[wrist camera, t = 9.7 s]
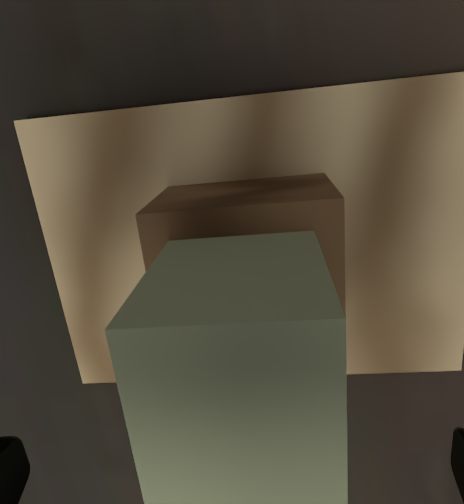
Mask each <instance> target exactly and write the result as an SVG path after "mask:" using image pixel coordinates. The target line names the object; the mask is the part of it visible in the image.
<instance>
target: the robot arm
mask: <svg viewBox="0 0 464 504" xmlns="http://www.w3.org/2000/svg"><path fill="white" fill-rule="evenodd" d="M451 467H452V471H453V474H454V477H455V480H456V483H457V486H458V489H459V491H460V494H461V497H462V500H463V503H464V427H457V428H455V430H454V433H453V441H452V451H451ZM29 473H30V464H29V460H28V458H27V455H26V452H25V449H24V446H23V443H22V441H21V439H20V438H19V437H17V436H3V437H0V504H18V503H19V500H20V498H21V495H22V493H23V490H24V488H25V485H26V483H27V480H28V477H29Z"/></svg>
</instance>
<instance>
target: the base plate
mask: <svg viewBox="0 0 464 504" xmlns="http://www.w3.org/2000/svg"><path fill="white" fill-rule="evenodd" d="M14 125H15V128H16V132H17V136H18V140H19V144H20V147H21V151H22V155H23V159H24V162H25V166H26V170H27V174H28V178H29V181H30V185H31V189H32V193H33V197H34V200H35V204H36V208H37V212H38V215H39V219H40V223H41V227H42V231H43V234H44V238H45V242H46V246H47V250H48V253H49V257H50V261H51V265H52V268H53V272H54V276H55V280H56V284H57V287H58V291H59V295H60V299H61V302H62V306H63V310H64V314H65V318H66V321H67V325H68V329H69V333H70V337H71V340H72V344H73V348H74V352H75V355H76V359H77V363H78V367H79V371H80V374H81V378H82V382H83V383H108V382H116V378H115V373H114V369H113V365H112V360H111V356H110V352H109V347H108V343H107V338H106V334H105V329H106V327H107V326H108V324H109V323H110V322H111V320H112V319H113V317H114V316H115V315H116V313H117V312H118V310H119V309H120V308H121V306H122V305H123V303H124V302H125V301H126V299H127V298H128V296H129V295H130V294H131V292H132V291H133V289H134V288H135V287H136V285H137V284H138V282H139V281H140V280H141V278H142V277H143V275H144V274H145V273H146V271H147V270H148V268H149V267H150V266H151V264H152V263H153V261H154V260H155V259H156V257H157V256H158V254H159V253H160V252H161V250H162V249H163V247H164V246H165V245H166V243H167V242H168V241H171V240H185V239H199V238H213V237H228V236H242V235H256V234H270V233H284V232H299V231H313V230H314V231H315V234H316V236H317V239H318V242H319V245H320V248H321V250H322V253H323V256H324V259H325V261H326V264H327V267H328V270H329V272H330V275H331V278H332V281H333V283H334V286H335V289H336V292H337V295H338V297H339V300H340V303H341V306H342V308H343V311H344V314H345V317H346V359H347V374H372V373H401V372H431V371H460V370H461V368H462V358H463V348H464V72H455V73H446V74H437V75H428V76H419V77H409V78H400V79H391V80H382V81H373V82H364V83H355V84H345V85H336V86H327V87H318V88H309V89H300V90H291V91H282V92H272V93H263V94H254V95H245V96H236V97H227V98H218V99H208V100H199V101H190V102H181V103H172V104H163V105H154V106H145V107H135V108H126V109H117V110H108V111H99V112H90V113H81V114H71V115H62V116H53V117H44V118H35V119H26V120H17V121H14Z"/></svg>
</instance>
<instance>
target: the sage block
mask: <svg viewBox="0 0 464 504" xmlns="http://www.w3.org/2000/svg"><path fill="white" fill-rule="evenodd" d="M105 334H106V338H107V343H108V347H109V352H110V356H111V360H112V365H113V369H114V373H115V378H116V382H117V386H118V391H119V395H120V399H121V404H122V408H123V413H124V417H125V421H126V426H127V430H128V434H129V439H130V443H131V447H132V452H133V456H134V460H135V465H136V469H137V474H138V478H139V482H140V487H141V491H142V495H143V500H144V504H348V482H347V359H346V317H345V314H344V311H343V308H342V306H341V303H340V300H339V297H338V295H337V292H336V289H335V286H334V283H333V281H332V278H331V275H330V272H329V270H328V267H327V264H326V261H325V259H324V256H323V253H322V250H321V248H320V245H319V242H318V239H317V236H316V234H315V231H314V230H313V231H299V232H284V233H270V234H256V235H242V236H228V237H213V238H199V239H185V240H171V241H168V242H167V243H166V245H165V246H164V247H163V249H162V250H161V252H160V253H159V254H158V256H157V257H156V259H155V260H154V261H153V263H152V264H151V266H150V267H149V268H148V270H147V271H146V273H145V274H144V275H143V277H142V278H141V280H140V281H139V282H138V284H137V285H136V287H135V288H134V289H133V291H132V292H131V294H130V295H129V296H128V298H127V299H126V301H125V302H124V303H123V305H122V306H121V308H120V309H119V310H118V312H117V313H116V315H115V316H114V317H113V319H112V320H111V322H110V323H109V324H108V326H107V327H106V329H105Z"/></svg>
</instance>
